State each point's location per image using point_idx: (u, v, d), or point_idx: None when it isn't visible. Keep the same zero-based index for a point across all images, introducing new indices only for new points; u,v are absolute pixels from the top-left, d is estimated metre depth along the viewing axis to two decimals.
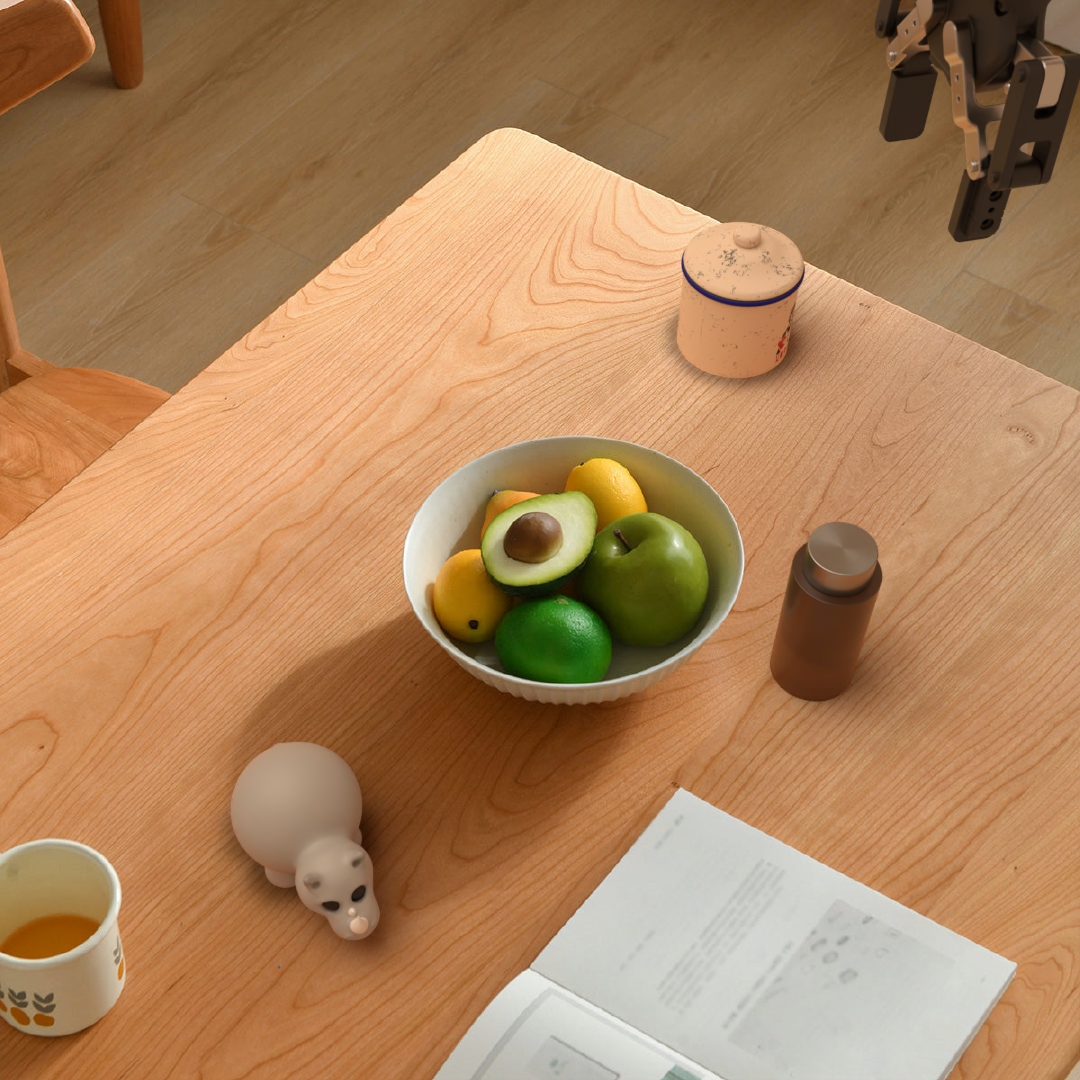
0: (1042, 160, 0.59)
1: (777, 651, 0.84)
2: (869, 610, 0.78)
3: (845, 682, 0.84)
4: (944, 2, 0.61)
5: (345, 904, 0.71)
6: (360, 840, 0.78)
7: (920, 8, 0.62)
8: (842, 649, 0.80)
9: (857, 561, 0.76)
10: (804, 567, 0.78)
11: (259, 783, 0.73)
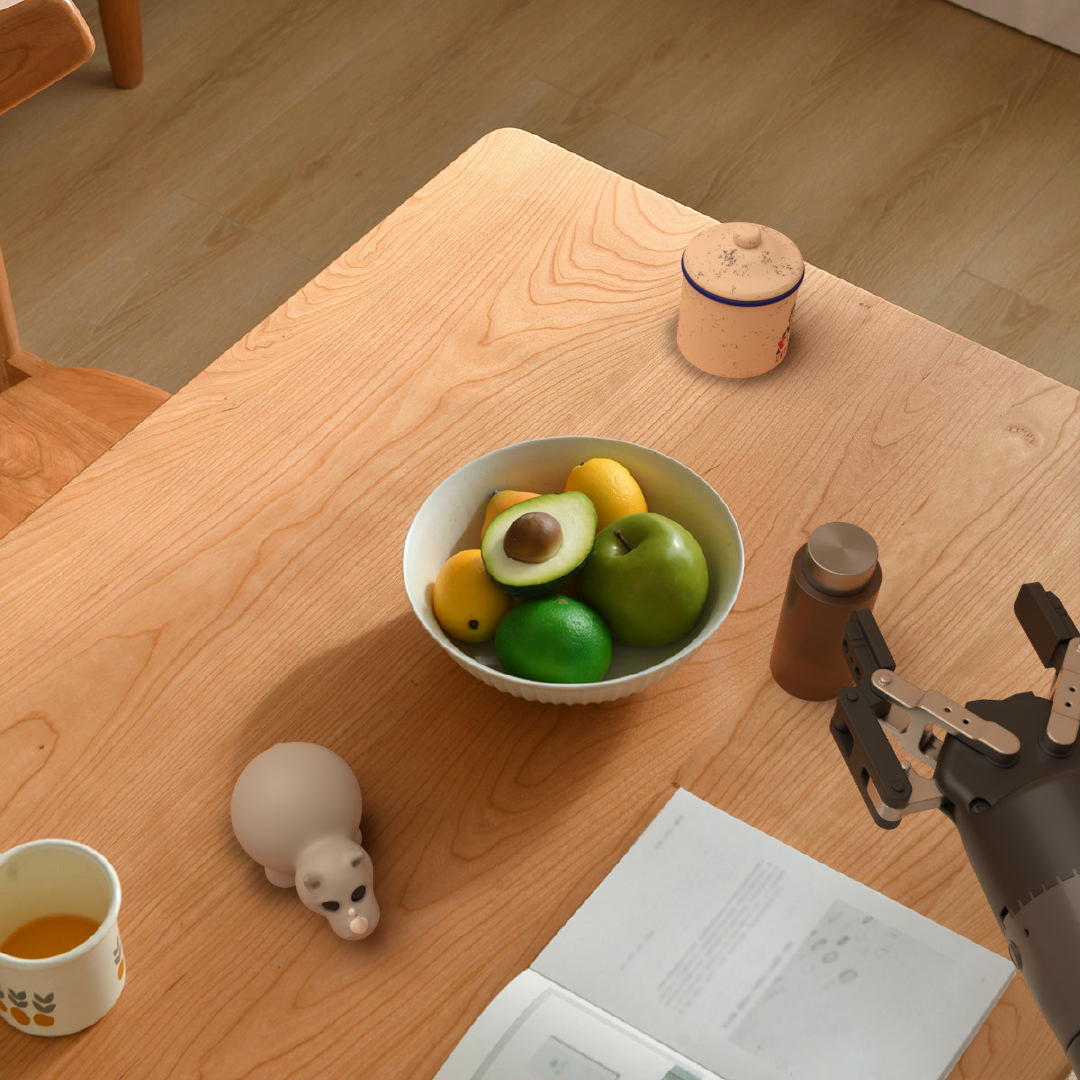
0: None
1: (777, 651, 0.84)
2: None
3: (845, 682, 0.84)
4: None
5: (345, 904, 0.71)
6: (360, 840, 0.78)
7: None
8: None
9: (857, 561, 0.76)
10: (804, 567, 0.78)
11: (259, 783, 0.73)
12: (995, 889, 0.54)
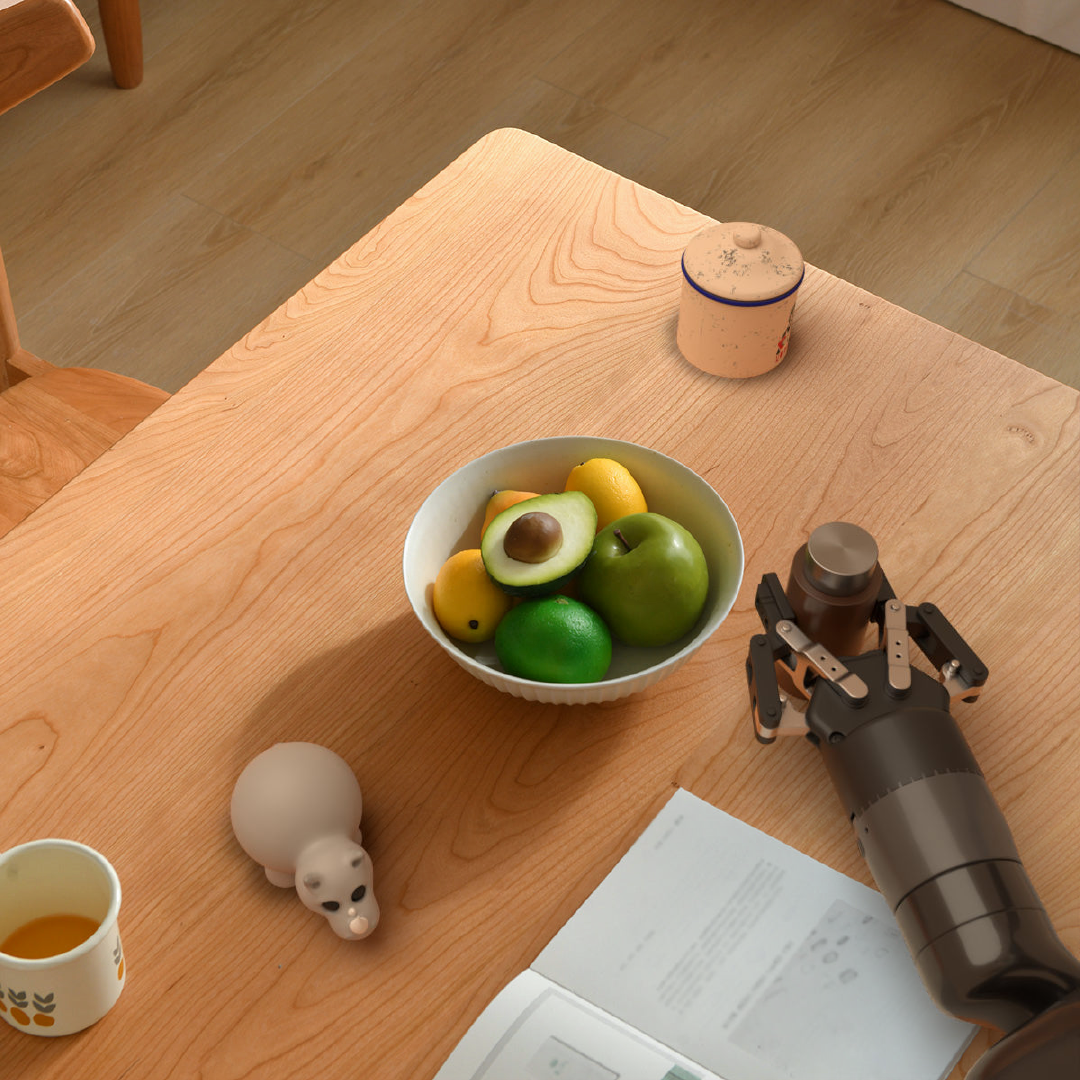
0: None
1: None
2: (869, 610, 0.78)
3: None
4: None
5: (345, 904, 0.71)
6: (360, 840, 0.78)
7: None
8: (842, 649, 0.80)
9: (857, 560, 0.76)
10: (804, 567, 0.78)
11: (259, 783, 0.73)
12: (846, 799, 0.72)
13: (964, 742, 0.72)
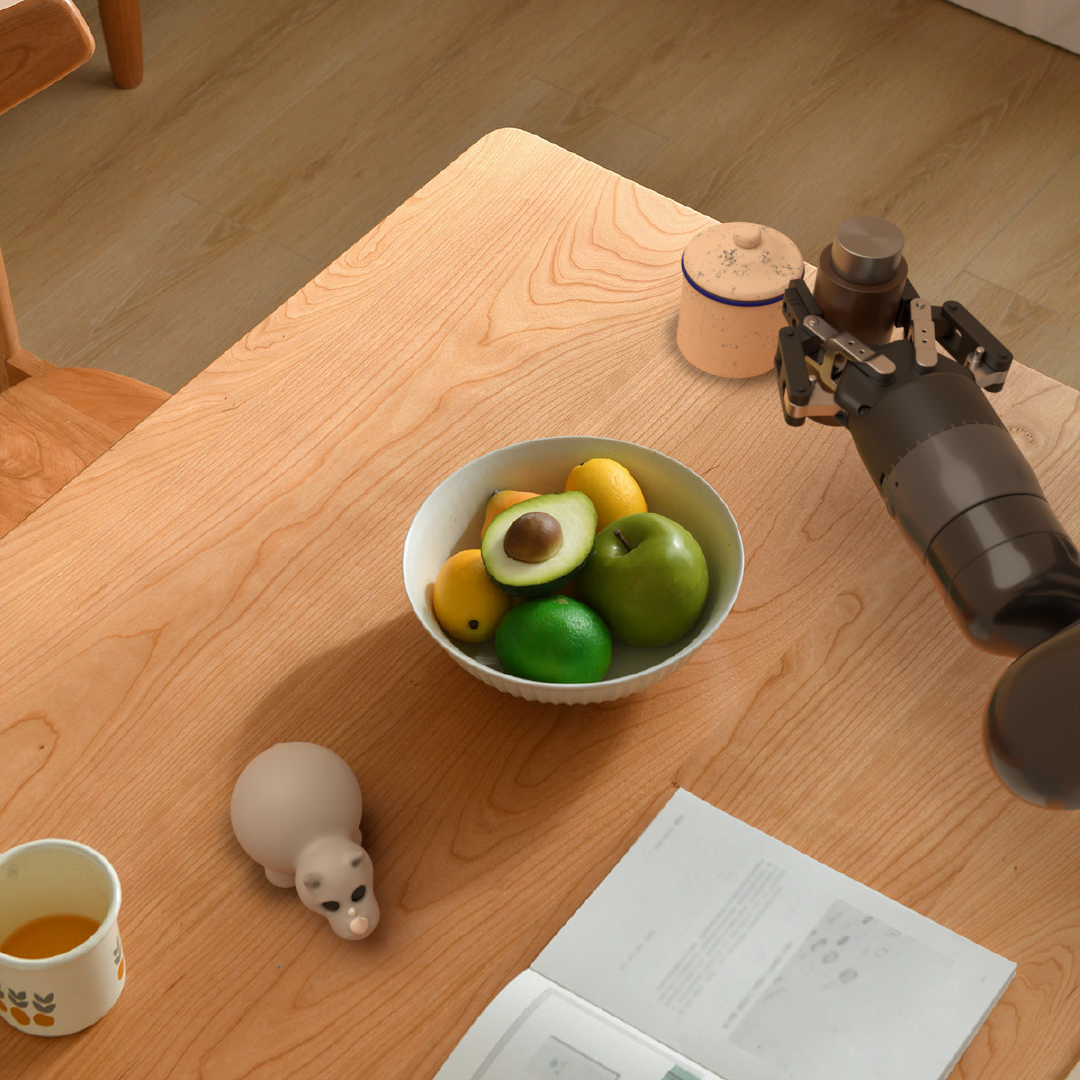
0: None
1: None
2: (895, 303, 0.80)
3: None
4: None
5: (345, 904, 0.71)
6: (360, 840, 0.78)
7: None
8: None
9: (883, 246, 0.78)
10: (831, 259, 0.80)
11: (259, 783, 0.73)
12: (875, 463, 0.74)
13: (991, 406, 0.74)
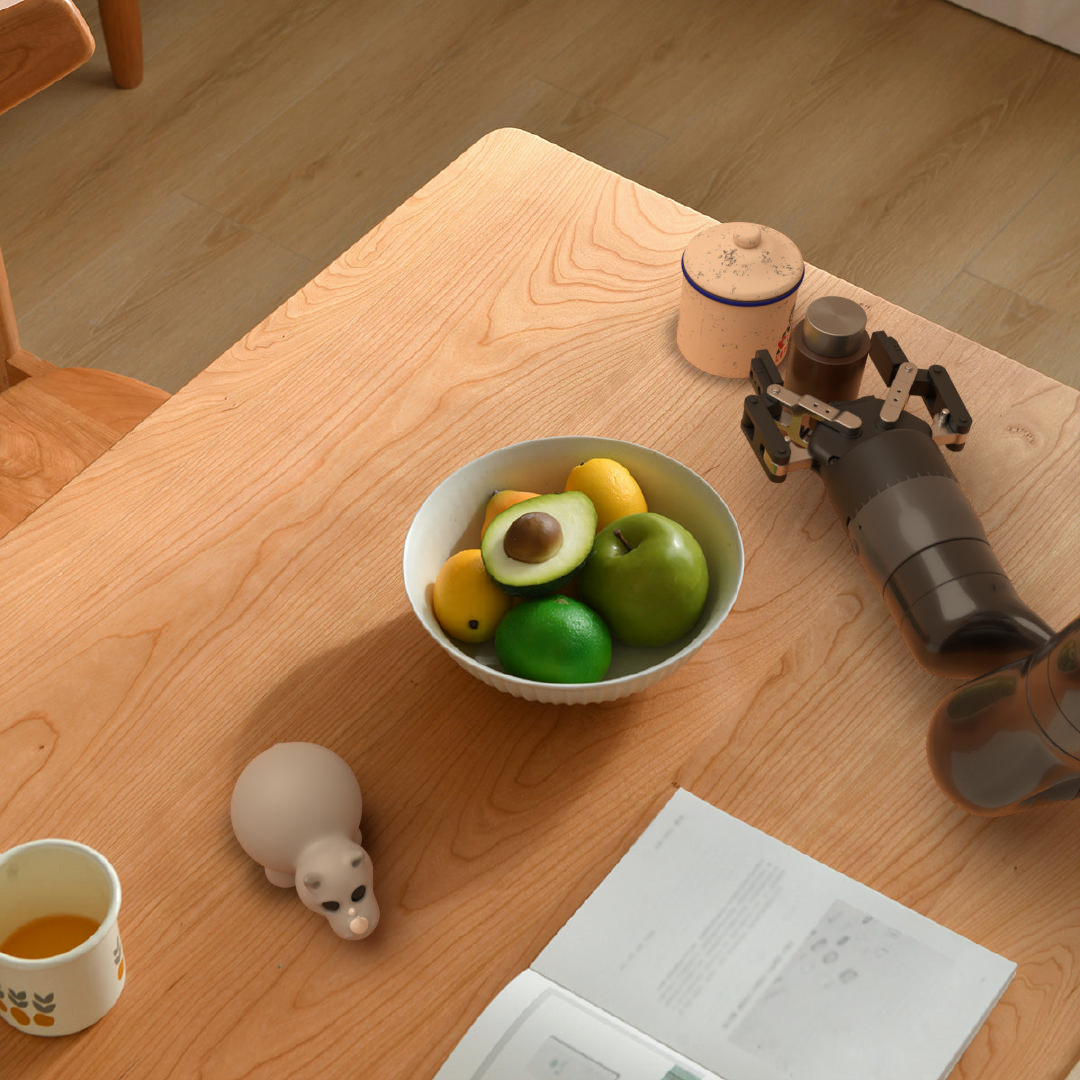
0: None
1: None
2: (859, 372, 0.91)
3: None
4: None
5: (345, 904, 0.71)
6: (360, 840, 0.78)
7: None
8: None
9: (848, 325, 0.89)
10: (803, 334, 0.91)
11: (259, 783, 0.73)
12: (843, 508, 0.85)
13: (943, 458, 0.84)
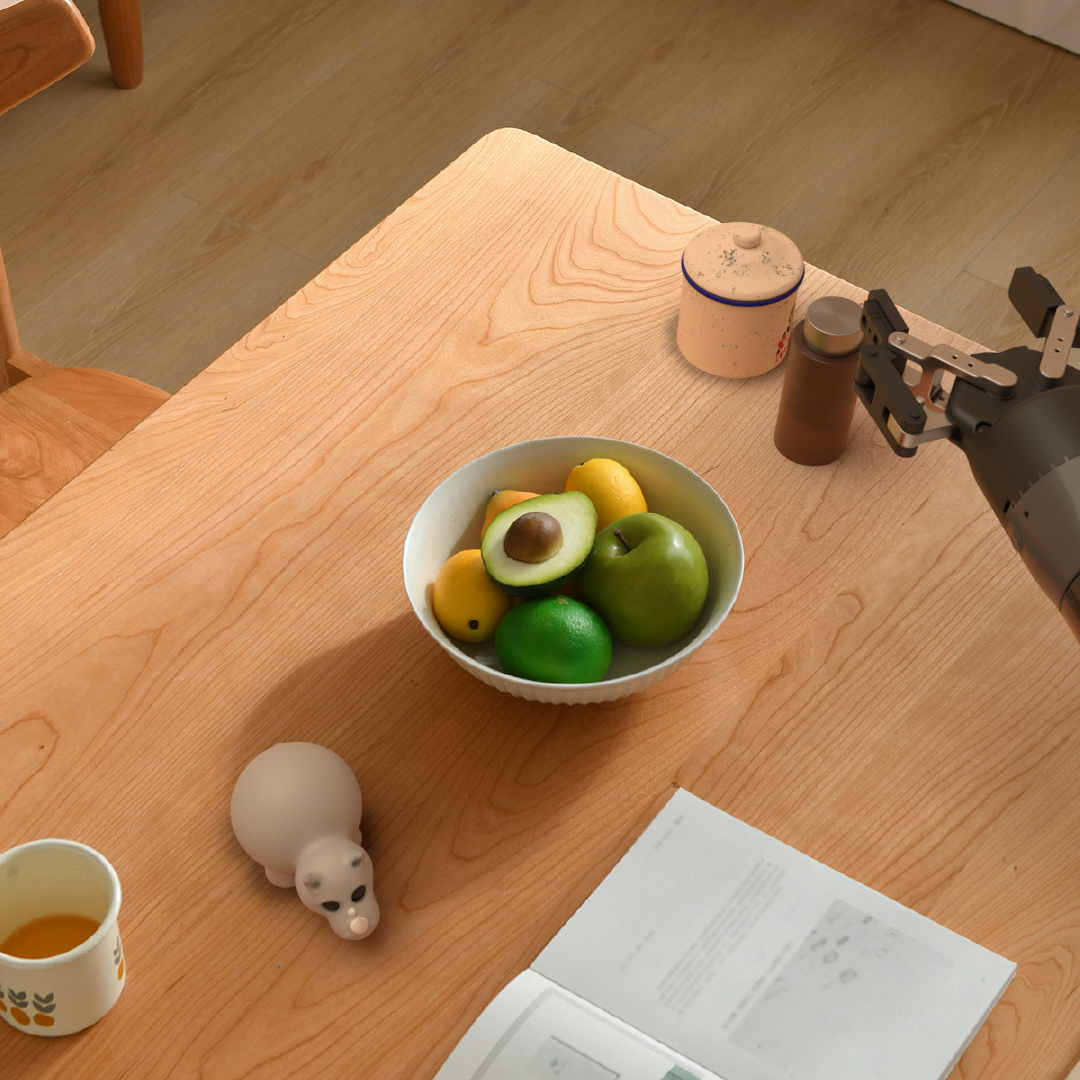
0: None
1: (780, 421, 0.96)
2: None
3: (839, 448, 0.97)
4: None
5: (345, 904, 0.71)
6: (360, 840, 0.78)
7: None
8: (836, 411, 0.93)
9: (848, 325, 0.89)
10: (803, 334, 0.91)
11: (259, 783, 0.73)
12: (998, 489, 0.65)
13: None
